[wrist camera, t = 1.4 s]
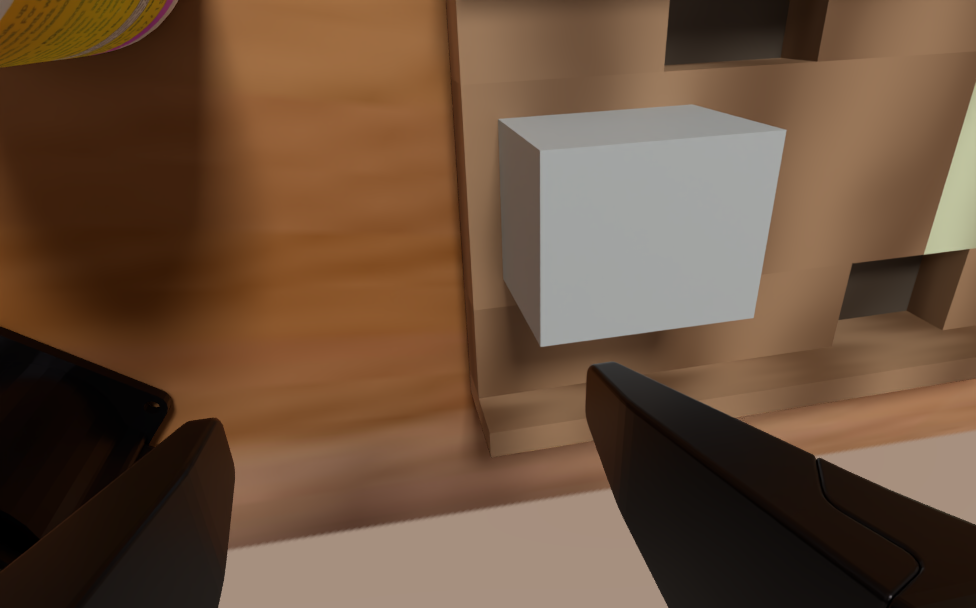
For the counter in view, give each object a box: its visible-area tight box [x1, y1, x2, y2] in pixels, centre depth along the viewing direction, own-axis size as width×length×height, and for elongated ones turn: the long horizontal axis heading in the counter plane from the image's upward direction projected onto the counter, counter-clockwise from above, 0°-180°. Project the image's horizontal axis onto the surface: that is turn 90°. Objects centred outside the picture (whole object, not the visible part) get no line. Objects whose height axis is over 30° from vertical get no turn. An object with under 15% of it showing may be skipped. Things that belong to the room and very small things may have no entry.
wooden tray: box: [446, 0, 976, 458], centre depth 20 cm, size 24×16×5 cm, turn 92°
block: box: [498, 104, 787, 347], centre depth 17 cm, size 6×5×4 cm
